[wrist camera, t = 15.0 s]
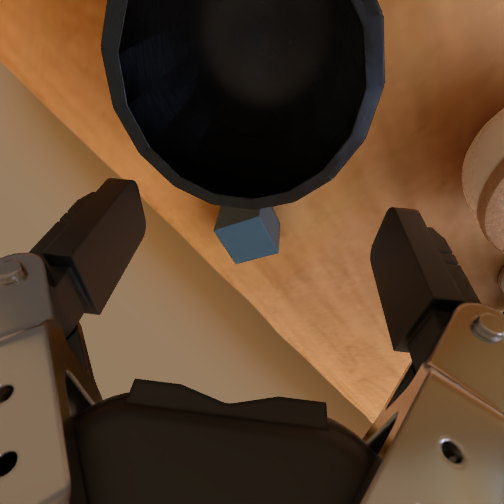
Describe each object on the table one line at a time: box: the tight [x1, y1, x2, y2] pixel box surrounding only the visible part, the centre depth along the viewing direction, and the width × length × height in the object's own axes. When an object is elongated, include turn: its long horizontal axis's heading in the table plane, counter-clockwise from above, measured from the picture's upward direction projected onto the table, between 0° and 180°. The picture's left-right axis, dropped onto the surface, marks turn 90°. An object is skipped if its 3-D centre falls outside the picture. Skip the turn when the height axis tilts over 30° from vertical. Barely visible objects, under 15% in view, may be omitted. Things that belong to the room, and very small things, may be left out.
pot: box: [101, 0, 385, 210], centre depth 18 cm, size 13×13×10 cm
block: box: [214, 206, 280, 264], centre depth 29 cm, size 4×4×4 cm
